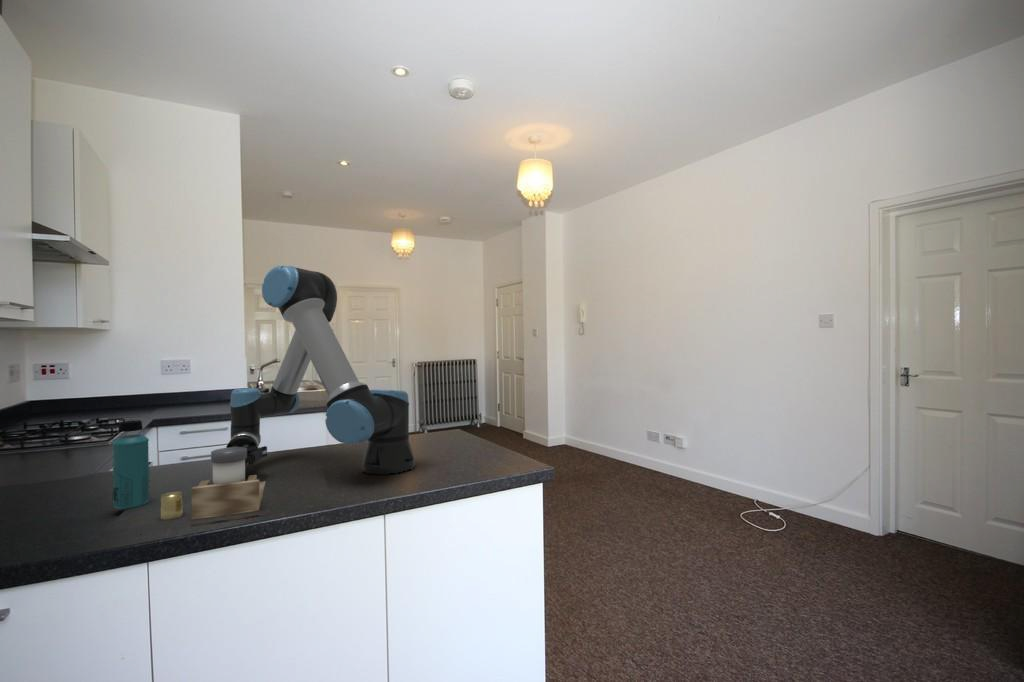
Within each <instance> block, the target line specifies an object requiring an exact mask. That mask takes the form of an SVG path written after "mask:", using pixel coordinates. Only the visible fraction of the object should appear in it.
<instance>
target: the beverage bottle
mask: <svg viewBox="0 0 1024 682" xmlns="http://www.w3.org/2000/svg"><path fill="white" fill-rule="evenodd" d="M118 425H119V426H118V432H120V433H123V432H124V433H128V432H136V431H141V430H143V422H142V420H139V419H131V420H123V421H120V422H119V424H118ZM149 440H150V439H149V438H148V437H147V436H145V435H144V434H129V435H123V436H119V437H117V438H116V439H115V440H114V441H113V442H112V476H111V478H112V484H113V485H112V498H111V499H112V505H113V508H114V509H115V510H116V509H117V510H124V509H125V510H126V509H131V508H132V509H133V508H138V507H140V506H144V505H146V504H148V503H149V502H150V495H151V493H150V481H151V480H150V473H151V472H150V463H149V459H150V457H149V456H150V455H149V453H150V452H149Z"/></svg>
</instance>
